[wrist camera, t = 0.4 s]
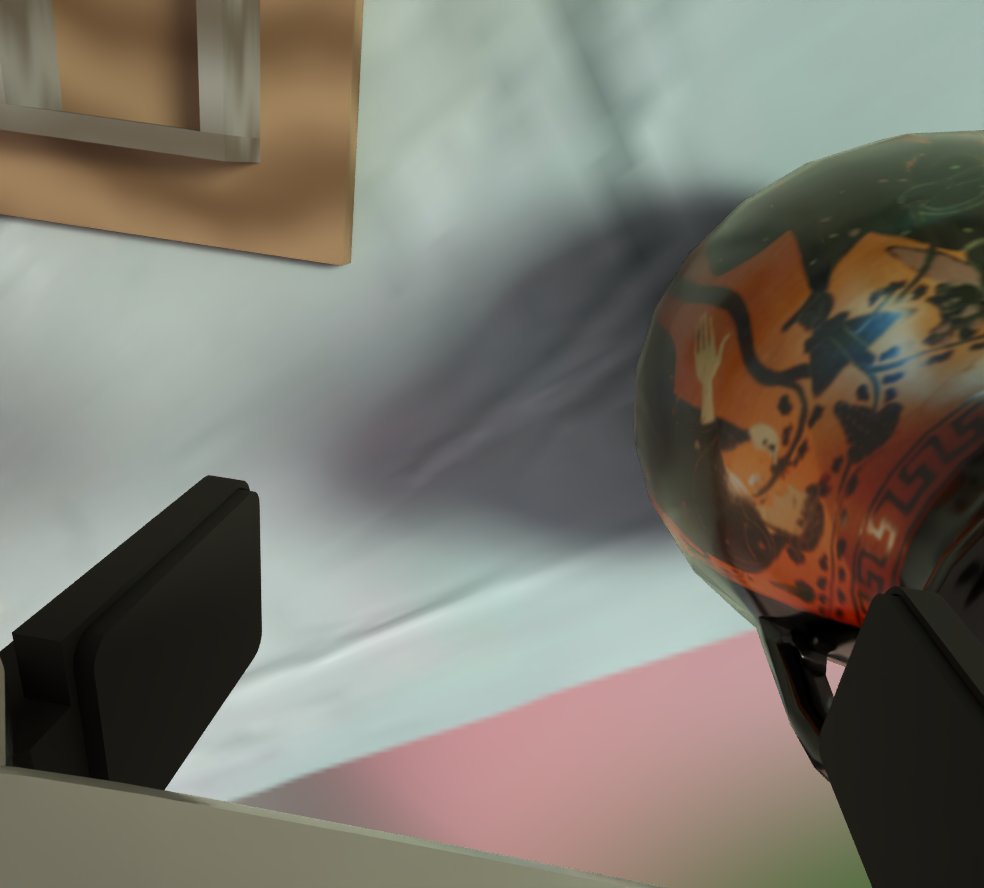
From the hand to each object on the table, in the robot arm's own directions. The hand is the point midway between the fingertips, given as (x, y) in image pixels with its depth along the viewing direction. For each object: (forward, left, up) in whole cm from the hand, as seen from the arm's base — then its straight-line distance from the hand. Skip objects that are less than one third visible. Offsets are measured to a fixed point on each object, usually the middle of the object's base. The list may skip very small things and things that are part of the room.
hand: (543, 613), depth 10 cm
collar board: (-11, -24, -31) cm, 41 cm away
